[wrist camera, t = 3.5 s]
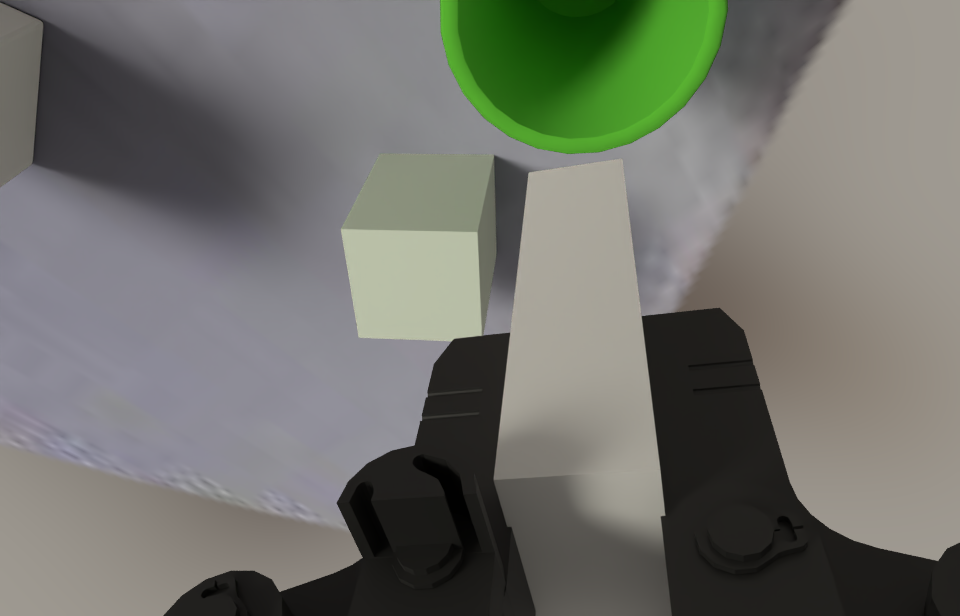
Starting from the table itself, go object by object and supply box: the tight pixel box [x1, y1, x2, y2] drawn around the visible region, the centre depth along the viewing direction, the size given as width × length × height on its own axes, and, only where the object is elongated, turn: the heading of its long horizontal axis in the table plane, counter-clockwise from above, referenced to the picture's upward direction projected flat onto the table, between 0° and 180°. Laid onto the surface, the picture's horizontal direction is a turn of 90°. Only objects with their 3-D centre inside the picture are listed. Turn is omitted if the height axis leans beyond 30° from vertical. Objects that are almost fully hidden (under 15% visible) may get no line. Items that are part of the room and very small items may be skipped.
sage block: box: [341, 154, 497, 341], centre depth 37 cm, size 6×6×8 cm
